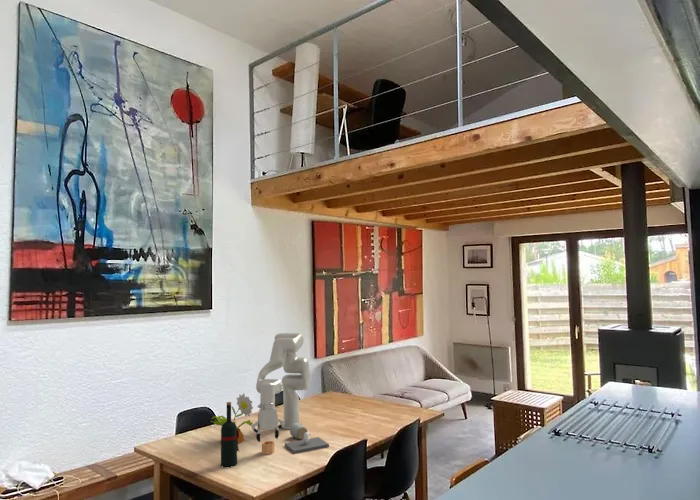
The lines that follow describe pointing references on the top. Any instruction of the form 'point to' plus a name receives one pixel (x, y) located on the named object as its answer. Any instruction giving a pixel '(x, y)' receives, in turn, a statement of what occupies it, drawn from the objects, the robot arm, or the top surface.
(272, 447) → the collar
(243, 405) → the decorative plant
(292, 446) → the post base
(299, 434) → the ceramic mug
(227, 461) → the wine bottle
